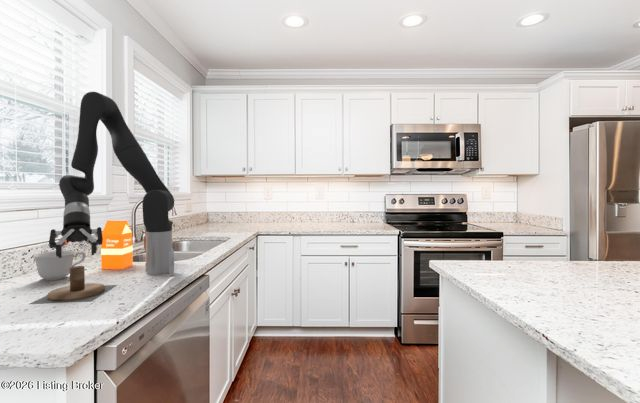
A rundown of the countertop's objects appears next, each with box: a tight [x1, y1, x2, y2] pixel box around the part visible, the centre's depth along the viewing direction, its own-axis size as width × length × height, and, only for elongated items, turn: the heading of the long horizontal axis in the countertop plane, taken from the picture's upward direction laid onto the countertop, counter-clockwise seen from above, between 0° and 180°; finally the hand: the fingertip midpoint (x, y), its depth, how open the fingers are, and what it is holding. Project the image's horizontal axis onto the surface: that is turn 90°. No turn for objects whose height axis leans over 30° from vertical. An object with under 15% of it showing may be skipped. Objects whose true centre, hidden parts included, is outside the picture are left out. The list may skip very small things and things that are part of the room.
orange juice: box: [100, 220, 134, 270], centre depth 136 cm, size 8×9×20 cm
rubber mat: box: [29, 284, 118, 305], centre depth 98 cm, size 16×16×1 cm
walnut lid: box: [47, 265, 106, 301], centre depth 97 cm, size 14×14×8 cm
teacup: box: [32, 250, 86, 281], centre depth 116 cm, size 12×15×10 cm
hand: (76, 255), depth 103 cm, fingers open, 8 cm apart
